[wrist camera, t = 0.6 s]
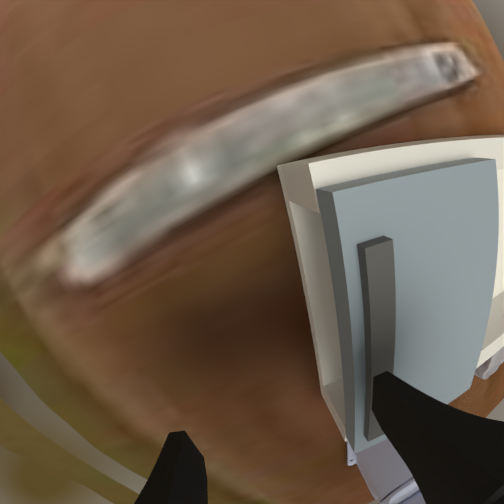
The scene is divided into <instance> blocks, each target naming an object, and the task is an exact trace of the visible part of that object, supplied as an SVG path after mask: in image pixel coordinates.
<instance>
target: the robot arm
mask: <svg viewBox="0 0 504 504" xmlns="http://www.w3.org/2000/svg"><path fill="white" fill-rule="evenodd" d="M372 411H373V413H374V415H375V417H376V419H377V421H378V423H379V425H380V427H381V429H382V431H383V432H384V434H385V435H386V437H387V438H388V439H386V440H384V441H381V442H379V443H377V444H375V445H373V446H371V447H368V448H366V449H364V450H362V451H359V452H357V453H355V454H354V452H353V450H352V448H351V446H350V444H349V442H348V441H347V464H348V466H351V465H353V464H357V466H358V468H359V470H360V472H361V474H362V476H363V478H364V480H365V482H366V484H367V486H368V488H369V490H370V492H371V494H372V496H373V497H374V498H375V499H376V500H378V501H379V502H380V503H378V504H504V422H502V421H497V420H492V419H487V418H483V417H479V416H476V415H473V414H470V413H467V412H464V411H461V410H459V409H456V408H454V407H451V406H449V405H447V404H445V403H443V402H440V401H438V400H436V399H434V398H433V397H431V396H429V395H427V394H425V393H423V392H421V391H420V390H418V389H416V388H415V387H413V386H411V385H410V384H408V383H406V382H405V381H403V380H401V379H400V378H398V377H397V376H395V375H393V374H392V373H390V372H389V371H385V372H383V373H381V374H379V375H377V376H374V377H373V393H372ZM134 504H208V495H207V475H206V468H205V462H204V457H203V456H202V454H201V453H200V452H199V450H198V449H197V448H196V446H195V445H194V443H193V442H192V441H191V439H190V438H189V436H188V435H187V433H186V432H185V431H179V432H171V433H169V434H168V436H167V439H166V441H165V443H164V446H163V448H162V450H161V453H160V455H159V457H158V459H157V462H156V464H155V466H154V468H153V470H152V472H151V474H150V476H149V478H148V480H147V482H146V484H145V486H144V488H143V489H142V491H141V493H140V495H139V496H138V498H137V500H136V501H135V503H134Z"/></svg>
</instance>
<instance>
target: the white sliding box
mask: <svg viewBox="0 0 504 504" xmlns="http://www.w3.org/2000/svg"><path fill="white" fill-rule="evenodd" d="M474 157H475V158H489V159H495V160H496V169H497V181H498V201H499V234H498V253H497V266H496V275H495V283H494V291H493V297H492V304H491V309H490V315H489V320H488V325H487V329H486V334H485V338H484V342H483V346H482V350H481V353H480V357H479V361H478V364H477V367H476V368H478V367H479V366H480V365H481V364H483V363H484V362H485V361H487V360H488V359H489V358H490V357H491V356H493V355H494V354H495V353H496V352H497V351H499V350H500V349H501V348H502V347H503V346H504V135H480V136H464V137H451V138H440V139H430V140H421V141H412V142H404V143H396V144H389V145H382V146H376V147H369V148H363V149H357V150H351V151H345V152H340V153H334V154H329V155H324V156H319V157H314V158H309V159H304V160H299V161H294V162H290V163H285V164H281V165H277V169H278V173H279V177H280V181H281V186H282V190H283V194H284V199H285V203H286V207H287V212H288V216H289V221H290V225H291V230H292V235H293V239H294V244H295V249H296V254H297V258H298V263H299V268H300V273H301V278H302V283H303V289H304V294H305V299H306V304H307V310H308V315H309V321H310V327H311V332H312V338H313V344H314V350H315V356H316V362H317V368H318V375H319V381H320V388H321V394H322V396H323V398H324V400H325V402H326V404H327V406H328V408H329V410H330V412H331V414H332V416H333V418H334V420H335V422H336V424H337V426H338V429H339V431H340V433H341V435H342V437H343V439H344V441H345V442H346V441H348V440H347V438H346V424H345V403H344V387H343V374H342V362H341V351H340V341H339V332H338V323H337V314H336V306H335V299H334V291H333V284H332V277H331V271H330V264H329V258H328V252H327V246H326V240H325V234H324V229H323V223H322V218H321V213H320V208H319V203H318V198H317V193H316V189H317V188H321V187H325V186H330V185H334V184H338V183H343V182H347V181H352V180H356V179H361V178H366V177H370V176H375V175H380V174H385V173H390V172H395V171H400V170H405V169H410V168H416V167H421V166H426V165H432V164H438V163H443V162H449V161H455V160H461V159H468V158H474Z"/></svg>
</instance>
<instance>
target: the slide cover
mask: <svg viewBox="0 0 504 504" xmlns="http://www.w3.org/2000/svg"><path fill="white" fill-rule="evenodd" d="M316 193H317V198H318V203H319V208H320V213H321V218H322V223H323V229H324V234H325V240H326V246H327V252H328V258H329V264H330V271H331V277H332V284H333V291H334V299H335V306H336V314H337V323H338V332H339V341H340V351H341V362H342V374H343V387H344V403H345V424H346V438H347V440H348V442H349V444H350V446H351V448H352V450H353V452H354V454H355V453H357V452H359V451H362V450H364V449H366V448H368V447H371V446H373V445H375V444H377V443H379V442H381V441H384V440H386V439H388V438H387V437H386V435H385V434H384V432H383V431H382V429H381V427H380V425H379V423H378V421H377V419H376V417H375V415H374V413H373V411H372V393H373V377H374V376H377V375H379V374H381V373H383V372H385V371H389V372H390V373H392V374H393V375H395V376H397V377H398V378H400V379H401V380H403V381H405V382H406V383H408V384H410V385H411V386H413V387H415V388H416V389H418V390H420V391H421V392H423V393H425V394H427V395H429V396H431V397H433V398H434V399H436V400H438V401H440V402H443V403H445V404H448V403H450V402H451V401H453V400H454V399H455V398H457V397H458V396H460V395H461V394H463V393H464V392H465V391H467V390H468V389H469V388H470V386H471V383H472V380H473V377H474V374H475V370H476V367H477V364H478V361H479V357H480V353H481V350H482V346H483V342H484V338H485V334H486V329H487V325H488V320H489V315H490V309H491V304H492V297H493V291H494V283H495V275H496V266H497V253H498V234H499V201H498V181H497V169H496V160H495V159H489V158H475V157H474V158H468V159H461V160H455V161H449V162H443V163H438V164H432V165H426V166H421V167H416V168H410V169H405V170H400V171H395V172H390V173H385V174H380V175H375V176H370V177H366V178H361V179H356V180H352V181H347V182H343V183H338V184H334V185H330V186H325V187H321V188H317V189H316Z"/></svg>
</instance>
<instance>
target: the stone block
mask: <svg viewBox="0 0 504 504" xmlns="http://www.w3.org/2000/svg"><path fill="white" fill-rule="evenodd" d="M503 362H504V346H503V347H502V348H501V349H500V350H499V351H497V352H496V353H495V354H494V355H493V356H491V357H490V358H489V359H488V360H487V361H485V362H484V363H483V364H481V365H480V366H479V367H478V368H476V370H475V375H476V376H478V377H480V378H482V379H487V378H488V377H489V376H490V375H491V374H493V373H494V372H495V371H496V370H497V369H498V366H499V365H500V364H501V363H503Z"/></svg>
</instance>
